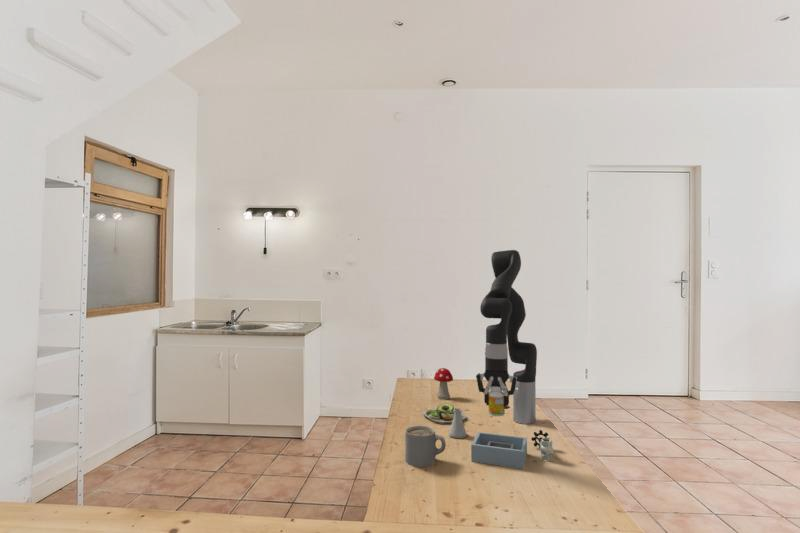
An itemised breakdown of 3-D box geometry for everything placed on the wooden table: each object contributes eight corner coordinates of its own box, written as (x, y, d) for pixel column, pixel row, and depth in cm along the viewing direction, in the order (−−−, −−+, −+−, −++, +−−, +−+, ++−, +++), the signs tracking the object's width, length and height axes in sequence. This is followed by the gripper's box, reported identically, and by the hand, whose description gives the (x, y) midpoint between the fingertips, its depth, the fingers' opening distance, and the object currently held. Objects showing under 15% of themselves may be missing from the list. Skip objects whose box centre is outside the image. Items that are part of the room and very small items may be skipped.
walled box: (478, 447, 161) (478, 431, 161) (526, 453, 155) (526, 437, 155) (471, 461, 149) (471, 444, 149) (524, 468, 143) (524, 451, 143)
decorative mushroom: (430, 398, 224) (430, 368, 224) (439, 394, 231) (439, 365, 232) (448, 401, 218) (448, 371, 219) (456, 397, 226) (456, 368, 226)
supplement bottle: (486, 411, 155) (486, 383, 156) (501, 411, 156) (501, 383, 156) (490, 416, 150) (490, 387, 150) (506, 416, 150) (506, 387, 150)
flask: (466, 439, 168) (466, 413, 169) (447, 438, 170) (447, 411, 170) (467, 433, 175) (467, 407, 176) (449, 431, 177) (449, 406, 177)
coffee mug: (403, 466, 145) (403, 435, 145) (407, 454, 155) (407, 425, 155) (445, 468, 143) (445, 437, 143) (445, 456, 153) (445, 426, 153)
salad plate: (477, 423, 188) (477, 412, 188) (439, 428, 181) (439, 417, 181) (454, 410, 206) (454, 400, 206) (419, 415, 199) (419, 404, 199)
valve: (558, 462, 148) (550, 448, 160) (558, 442, 148) (550, 430, 160) (537, 461, 149) (531, 447, 161) (537, 441, 149) (531, 429, 161)
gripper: (519, 355, 154) (519, 404, 154) (477, 352, 159) (477, 400, 159) (516, 359, 147) (516, 411, 147) (473, 356, 152) (473, 406, 152)
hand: (496, 405), depth 153 cm, fingers closed on supplement bottle, 5 cm apart
